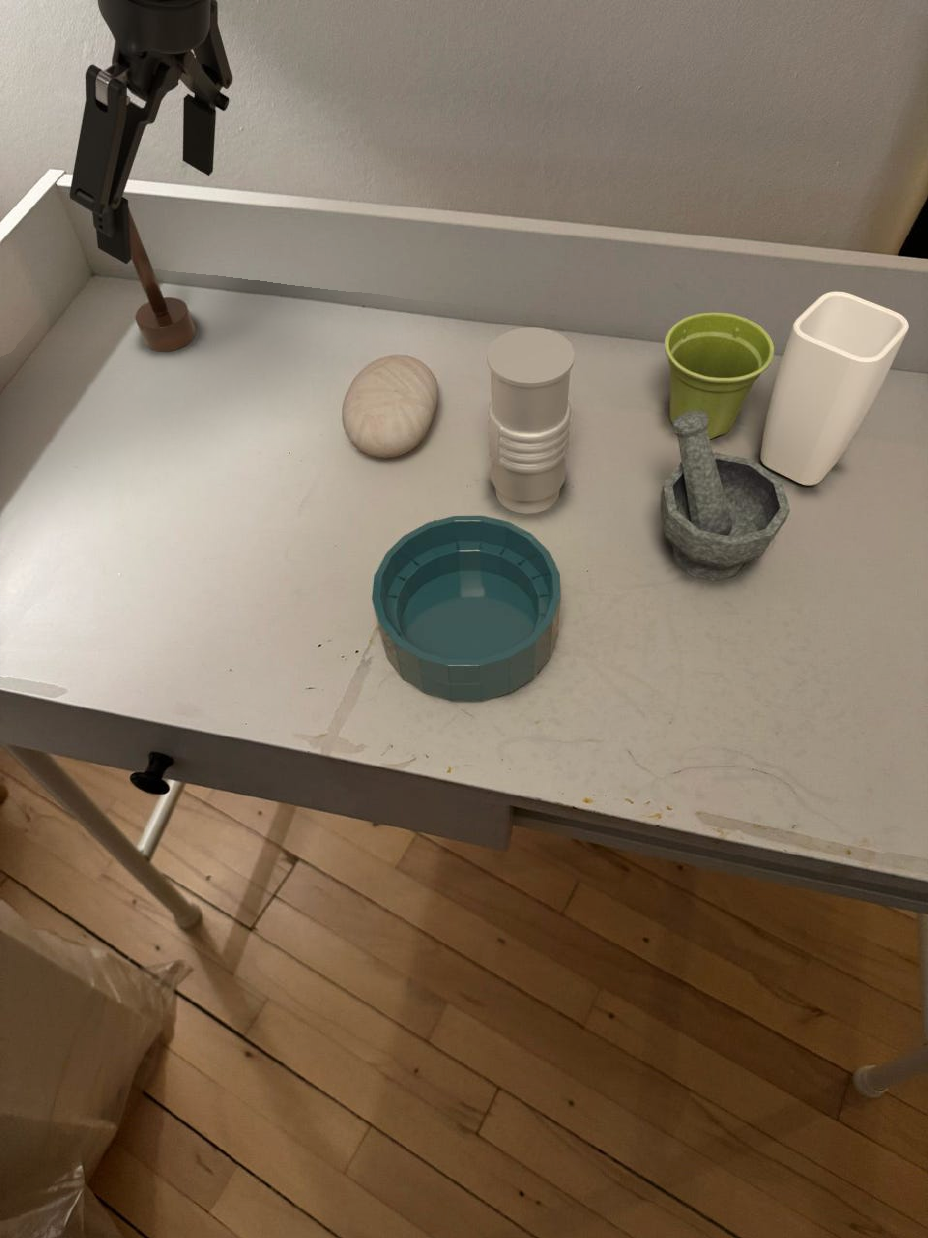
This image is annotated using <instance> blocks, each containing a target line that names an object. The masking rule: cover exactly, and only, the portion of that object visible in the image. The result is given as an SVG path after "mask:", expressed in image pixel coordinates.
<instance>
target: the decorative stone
mask: <svg viewBox="0 0 928 1238" xmlns="http://www.w3.org/2000/svg"><path fill="white" fill-rule="evenodd" d="M343 399H344V400H343V404H342V410H341V414H342V416H341V420H342V425H343V428H344V432H345V434H346V436H347V438H348V439H349V441H350V442H351V444H353V446H355V448H356V449H358V450H360V451H361V452H362V453H364V454H366V455H369V456H372V457H376V458H394V457H398V456H399V457H400V456H402V455H404V454H406V453H408V452H410V451H412V450H413V449H415V448H416V447H417V446H418V445H419V444H420V443H421V441H422V440H423V439H424V438H425V436H426V434H427V433H428V431H429V429H430V427H431V424H432V422H433V419H434V417H435V413H436V409H437V406H438V400H439V386H438V382H437V378H436V376H435V374H434V373H433V371H432V369H431V368H430V367H429V366H428V365H427V364H426V363H424V361H421V360H420V359H418V358H416V357H413V356H411V355H405V354H392V355H386V356H383V357H379V358H377V359H375V360H373V361H371V362H370V363H368V364H367V365H365V366H364V367H363V368H362V369H361V370H360V371H359V372H358V373H357V374H356V375H355V377H354V378H353V379H352V381H351V383H350V385H349V386H348V388H347V391H346V393H345V396H344V398H343Z"/></svg>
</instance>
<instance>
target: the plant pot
mask: <svg viewBox="0 0 928 1238" xmlns="http://www.w3.org/2000/svg"><path fill="white" fill-rule="evenodd" d="M664 351H665V354H666V356H667V359H668V360H667V361H668V364H669V369H670V370H669V371H670V374H669V379H670V381H669V382H670V383H669V421H670V422H671V423H672V421H673V420H675V419H676V418H677V417H678V416H679V415H682V414H684V413H687V412H692V411H702V412H705V413H706V415H707V417H708V420H709V424H708V427H707V432H708V435H709V439H710V440H712V439H715V438H716V437H719V436H722V435H727V433H728V432H729V431H730V430H732V428H733V426H734V423H735V421H736V420H737V417H738V415H739V412H740V411H741V409H742V407H743V405H744V403H745V400H746V399H747V397H748V395H749V394H750V391H751V389H752V387H753V385H754V384H755V381H757V380H758V378H759V377H760V376H761V374H762V373H764V372H765V371H766V370H767V369H768V368H769V366H770V365H771V364H772V361H773V359H774V354H775V345H774V343H773V339H772V338H771V336H770V335H769V333H768V332H767V331H766V330H765V328H763V327H761V326H760V324H759V325H758V324H757V323H755V322H754V321H753V320H750V319H749V318H746V317H743V316H739V315H736V314H731V313H725V312H704V313H697V314H693V315H690V316H687V317H685V318H683V319H681V320H679V321H678V322H676V323H675V324H674V325H673V326H671V328H670V329H669V330H668V332H667V333H666V336H665V340H664Z"/></svg>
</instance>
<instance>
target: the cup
mask: <svg viewBox="0 0 928 1238" xmlns="http://www.w3.org/2000/svg"><path fill="white" fill-rule="evenodd" d="M909 328H910V326H909V322H908V320H907V319H906V318H905V317H904V316H903V315H902V314H901V313H899V312H897V311H894V310H892V309H890V308H887V307H885V306H882V305H879V304H877V303H874V302H872V301H869V300H867V299H864V298H862V297H859V296H858V295H857V296H856V295H854V294H852V293H848V292H845V291H830V292H826V293H824V294H822V295H821V296H819V297H818V298H817V299H816V300H815V301H814V302H813V303H812V304H810V306H808V308H807V309H805V311H804V312H803V313H801V314H800V315H799V316H798V317H797V318H796V319H795V321H794V323H793V324H792V327H791V330H790V333H789V337H788V340H787V342H786V346H785V349H784V351H783V355H782V358H781V360H780V365H779V368H778V371H777V374H776V379H775V382H774V384H773V385H774V386H773V388H772V389H773V390H772V393H771V397H770V401H769V405H768V408H767V412H766V419H765V423H764V429H763V435H762V441H761V449H760V461H761V463H762V464H763V465H764V466H765V467H767V468H768V469H770V470H772V471H773V472H776V473H778V474H780V475H781V476H783V477H786V478H787V479H789V480H792V481H794V482H795V483H798V484H801V485H803V486H814V485H817V484H819V483H820V482H821V481H823V479H824V478H825V477H826V476H827V474H829V472H830V471H831V470H832V469H833V468H834V467H835V465H836V464H837V463H838V462H839V461H840V459H841V457H842V456H843V454H844V453H845V451H846V450H847V448H848V446H849V445H850V443H851V442H852V440H853V438H854V437H855V435H856V434H857V432H858V431H859V428H860V427H861V425H862V423H863V422H864V421H865V419H866V416H867V414H868V412H869V411H870V408H871V407H872V405H873V403H874V402H875V399H876V397H877V395H878V394H879V392H880V390H881V388H882V386H883V384H884V381H885V380H886V378H887V376H888V373H889V371H890V370H891V367H892V365H893V363H894V360H895V358H896V356H897V354H898V352H899V350H900V348H901V345H902V343H903V341H904V339H905V337H906V335H907V332H908V330H909Z"/></svg>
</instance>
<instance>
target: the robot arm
mask: <svg viewBox="0 0 928 1238" xmlns="http://www.w3.org/2000/svg"><path fill="white" fill-rule="evenodd" d="M96 2H97V7H98V10H99V13H100V15H101V17H102V19H103V20H104V23H105V24H106V25H107V27H108V29H109V31H110V32H111V34H112V36H113V39H114V48H113V53H112V58H111V66H109V67H107V68H106V69H104V70H103V69H102V68H100V67H98V66H97V65H95V64H90V65H89V66H88V67H87V69H86V71H85V104H84V109H83V115H82V122H81V125H80V126H81V127H80V133H79V138H78V143H77V149H76V154H75V161H74V167H73V171H72V178H71V183H70V189H69V198H70V200H71V201H73V202H74V203H77V204H78V205H80V206H81V207H84V208H85V209H86V210H88V211H90V212H91V216H92V224H93V227H94V229H95V233H96V244H97V248H98V250H100V251H103V252H104V253H106V254H108V255H109V256H111V257H113V258H115V259H116V260H118V261H120V262H121V263H123V264H125V265H128V264H129V263H130V261H132V259H131V243H130V225H129V209H130V207H129V200H128V199H127V198H125V197H123V195H124V193H125V189H126V187H127V183H128V180H129V178H130V176H131V175H130V174H131V172H132V169H133V165H134V164H135V159H136V157H137V154H138V151H139V147H140V145H141V142H142V139H143V136H144V133H145V130H146V127H147V125H152V124H153V123H155V121H156V118H157V116H158V114H159V110H160V107H161V104H162V101H163V100H164V98H165V97H166V95H167V94H168V93H169V92H171V91H173V90H174V89H176V88H177V87H178V86H179V81H181V82H182V84H183V85H184V86H185V87H186V88H187V89H188V90H189V92H191V93H193V94H194V95H193V96H192V95H191V94H190V93H187V94H186V95H185V96H184V97H183V103H182V104H183V105H182V107H183V109H182V111H183V113H182V123H183V124H182V162H184V163H186V164H187V165H189V166H190V167H193V168H194V169H196V170H198V171H199V172H201V173H202V174H204V175H205V176H208V177H210V176H211V175H212V173H213V172H214V157H215V139H216V138H215V137H216V121H217V120H216V119H217V110H216V108H217V109H219V110H221V111H222V112H226V110H227V109H228V107H229V105H230V97H229V96H227V95H226V94H224V93H222V92H221V90H222V89H223V88H224V89H226V90H229V89H230V87H231V86H232V85H233V73H232V70H231V66H230V63H229V58H228V56H227V52H226V49H225V44H224V42H223V41H224V40H223V38H222V35H221V31H220V27H219V25H218V24H219V15H218V14H219V11H218V10H219V9H218V4H219V3H218V0H96ZM128 91H129V92H130V94H132V95H134V96H135V97H137V98H139V100H142V101H143V102H145V104H144V106H143V107H142V106H140V105H138V103H137V104H136V103H135V102H133V101H132V100H131V98H130V97H131V96H129V95H128ZM128 207H129V208H128Z"/></svg>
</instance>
